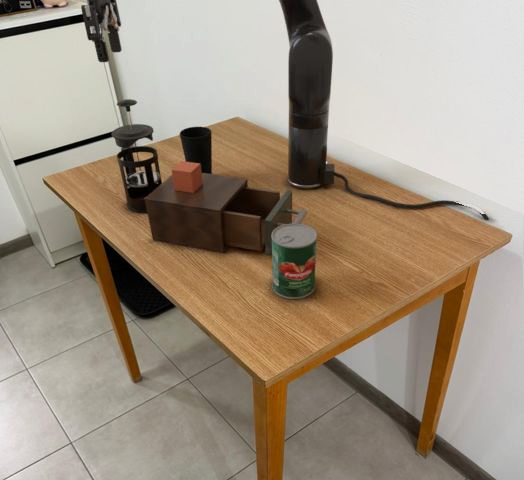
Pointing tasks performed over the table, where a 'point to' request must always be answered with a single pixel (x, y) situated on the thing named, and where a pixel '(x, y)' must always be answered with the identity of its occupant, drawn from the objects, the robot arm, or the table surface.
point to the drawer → (257, 217)
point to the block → (187, 176)
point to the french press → (136, 180)
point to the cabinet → (192, 212)
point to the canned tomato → (293, 260)
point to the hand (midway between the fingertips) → (110, 56)
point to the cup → (198, 147)
